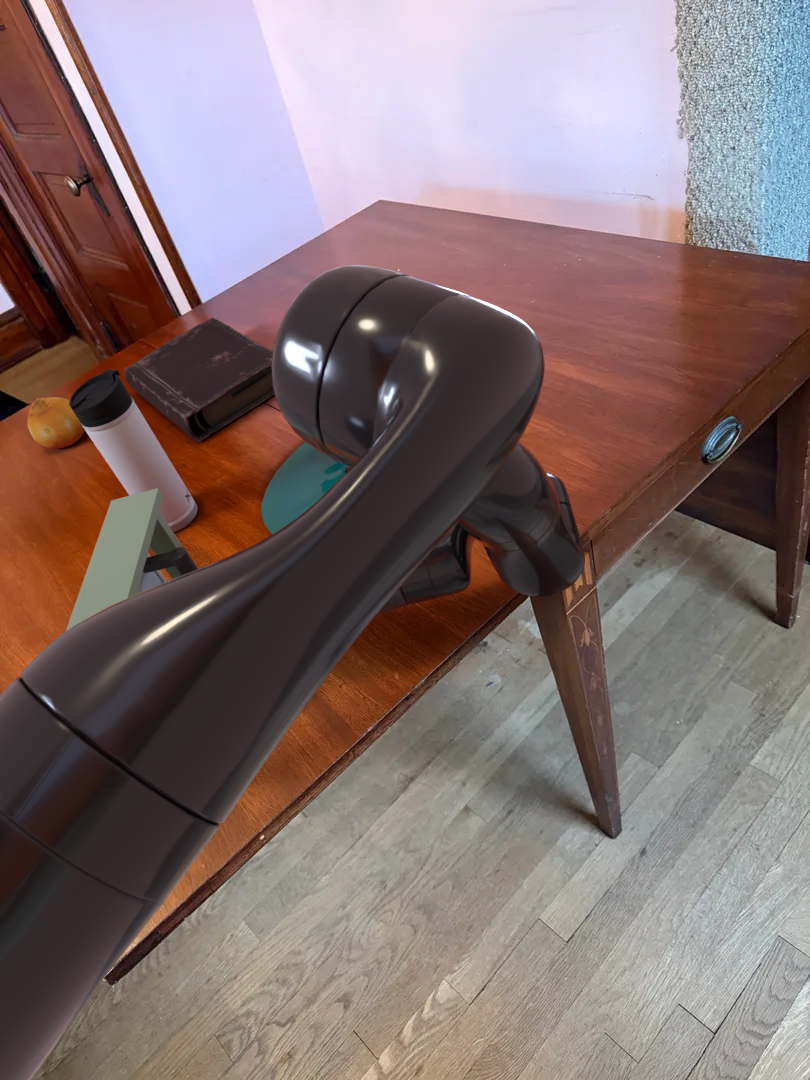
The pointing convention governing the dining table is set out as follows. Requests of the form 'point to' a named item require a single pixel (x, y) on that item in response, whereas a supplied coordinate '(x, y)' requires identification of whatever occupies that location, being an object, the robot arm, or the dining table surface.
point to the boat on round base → (298, 486)
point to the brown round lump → (54, 423)
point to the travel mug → (131, 445)
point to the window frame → (124, 553)
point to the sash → (156, 563)
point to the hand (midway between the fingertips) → (167, 622)
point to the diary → (204, 377)
